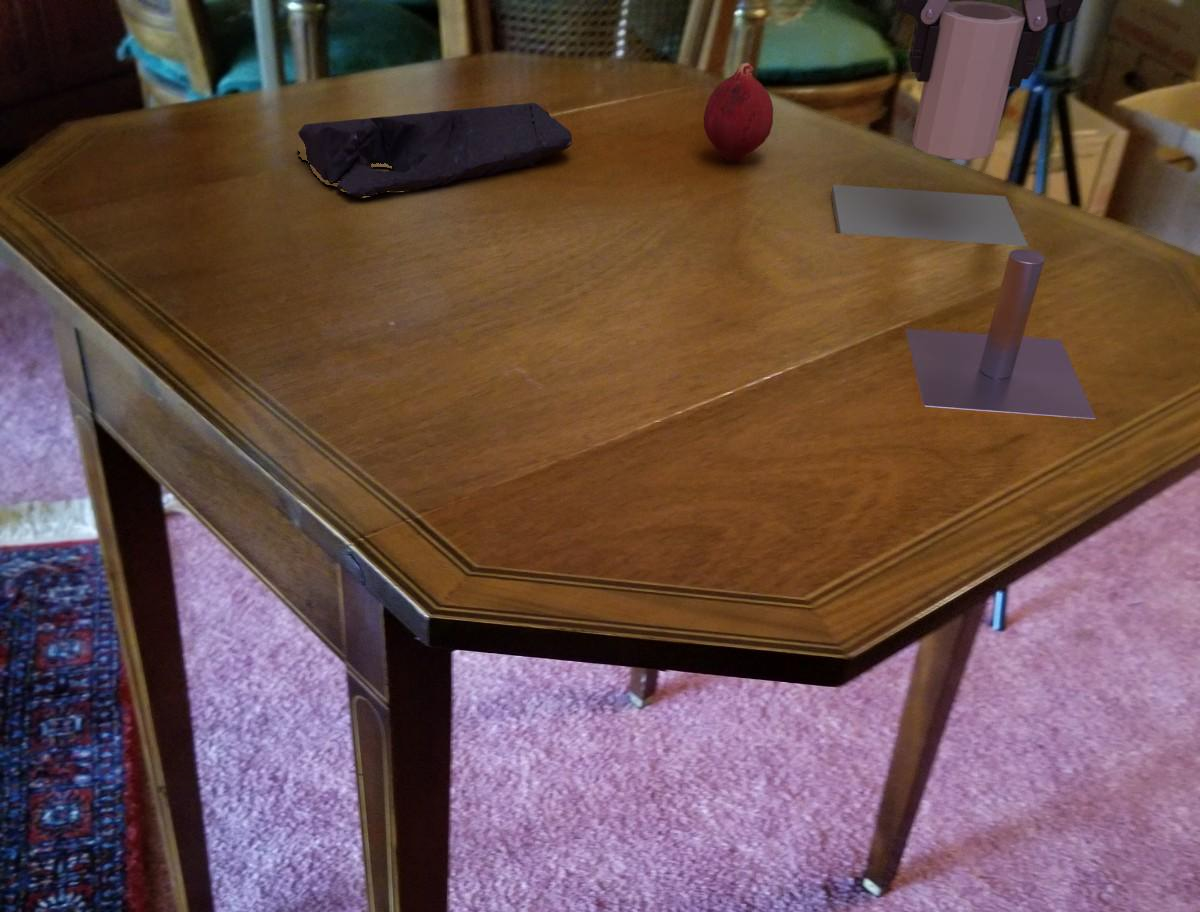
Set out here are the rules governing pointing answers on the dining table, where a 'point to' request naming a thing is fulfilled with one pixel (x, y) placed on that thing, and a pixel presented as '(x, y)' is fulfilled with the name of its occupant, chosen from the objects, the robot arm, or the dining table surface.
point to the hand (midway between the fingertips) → (966, 80)
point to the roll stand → (1000, 358)
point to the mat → (925, 215)
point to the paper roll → (968, 80)
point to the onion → (738, 115)
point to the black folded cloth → (431, 146)
